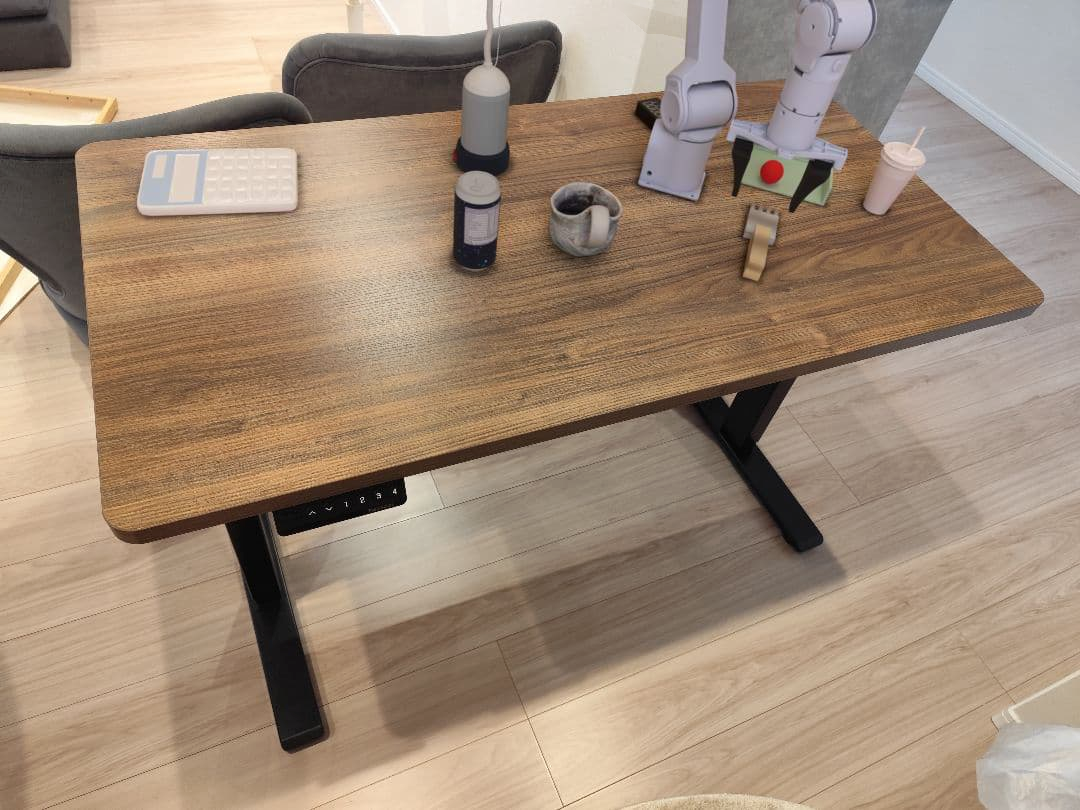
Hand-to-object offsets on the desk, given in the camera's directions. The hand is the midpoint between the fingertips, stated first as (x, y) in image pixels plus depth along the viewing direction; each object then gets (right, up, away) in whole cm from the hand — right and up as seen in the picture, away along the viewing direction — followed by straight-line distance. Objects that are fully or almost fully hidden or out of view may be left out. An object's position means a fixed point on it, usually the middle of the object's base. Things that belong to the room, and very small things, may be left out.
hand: (763, 200), depth 97 cm
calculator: (-73, +3, +4) cm, 74 cm away
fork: (+2, -4, +9) cm, 10 cm away
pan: (+11, +14, +25) cm, 30 cm away
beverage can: (-38, -8, 0) cm, 39 cm away
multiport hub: (-9, +20, +27) cm, 35 cm away
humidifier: (-38, +10, +15) cm, 42 cm away
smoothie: (+23, +4, +19) cm, 31 cm away
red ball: (+7, +10, +18) cm, 22 cm away
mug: (-24, -6, +4) cm, 25 cm away
